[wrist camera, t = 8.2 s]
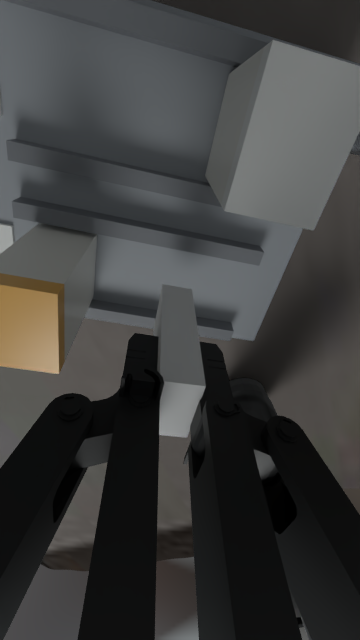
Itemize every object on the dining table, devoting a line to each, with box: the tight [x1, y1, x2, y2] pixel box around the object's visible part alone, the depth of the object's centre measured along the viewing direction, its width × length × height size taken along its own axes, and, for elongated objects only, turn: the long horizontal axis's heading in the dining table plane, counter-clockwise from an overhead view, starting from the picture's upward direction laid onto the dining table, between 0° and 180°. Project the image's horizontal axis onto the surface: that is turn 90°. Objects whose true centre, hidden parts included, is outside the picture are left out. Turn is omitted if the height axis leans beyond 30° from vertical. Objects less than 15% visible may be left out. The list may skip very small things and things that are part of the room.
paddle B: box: [205, 40, 360, 231], centre depth 11 cm, size 3×4×7 cm
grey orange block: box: [0, 223, 97, 374], centre depth 14 cm, size 3×4×7 cm
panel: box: [0, 0, 360, 341], centre depth 16 cm, size 20×15×4 cm
